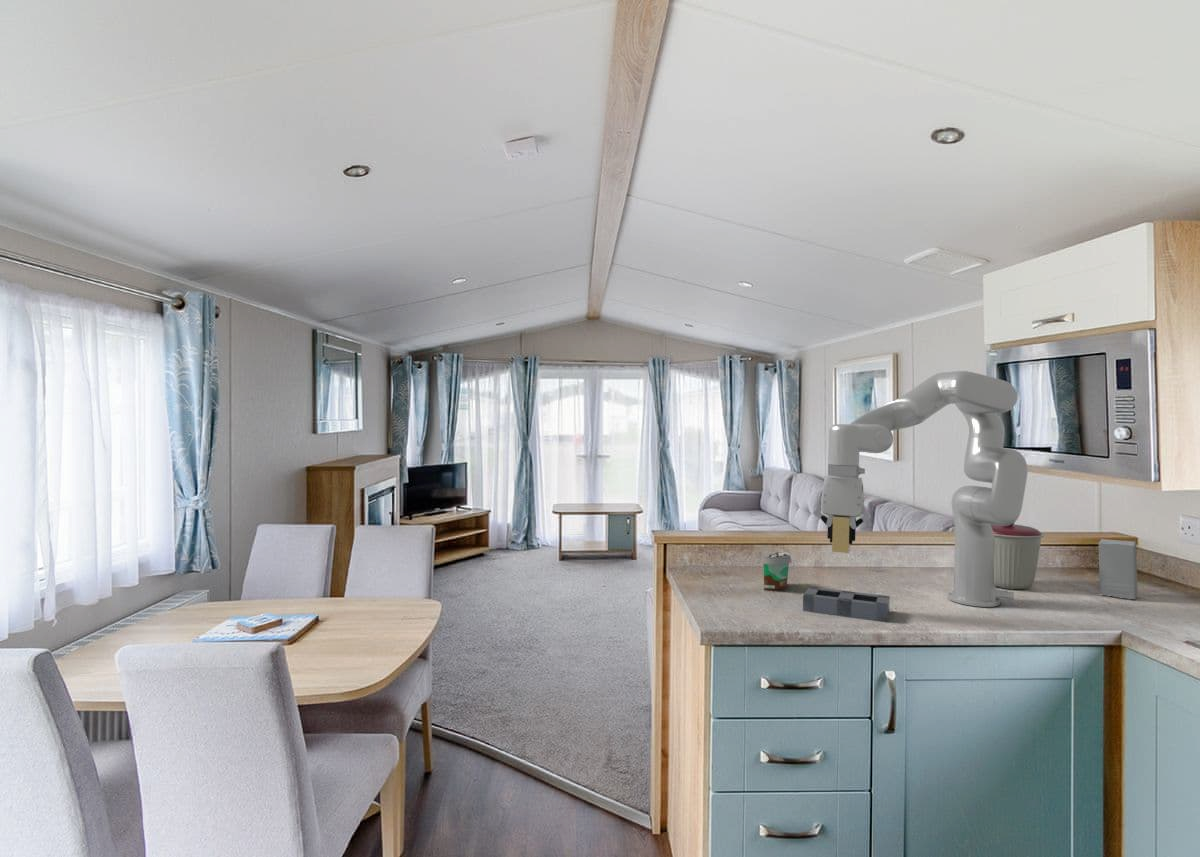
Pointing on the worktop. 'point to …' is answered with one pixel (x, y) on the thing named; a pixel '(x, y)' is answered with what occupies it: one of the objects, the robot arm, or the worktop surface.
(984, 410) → the robot arm
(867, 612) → the grey peg board
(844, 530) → the brass peg
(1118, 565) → the skincare box
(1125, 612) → the worktop surface
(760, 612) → the worktop surface
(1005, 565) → the canister
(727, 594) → the worktop surface
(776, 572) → the food container
